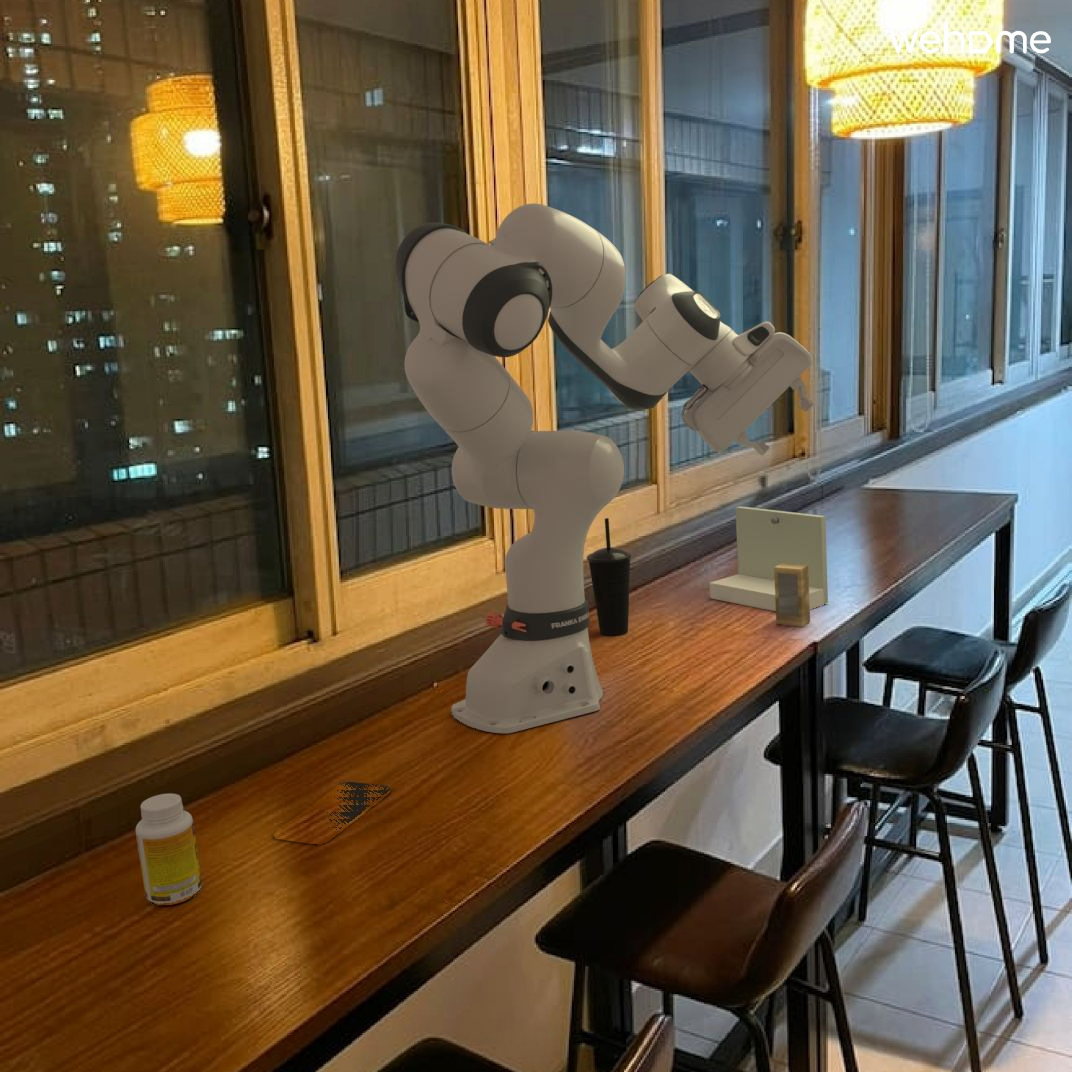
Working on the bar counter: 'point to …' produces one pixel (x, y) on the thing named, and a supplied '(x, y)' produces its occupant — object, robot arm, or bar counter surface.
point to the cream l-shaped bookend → (774, 556)
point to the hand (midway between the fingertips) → (787, 430)
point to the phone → (360, 800)
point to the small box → (792, 594)
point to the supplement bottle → (167, 850)
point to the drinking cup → (611, 586)
